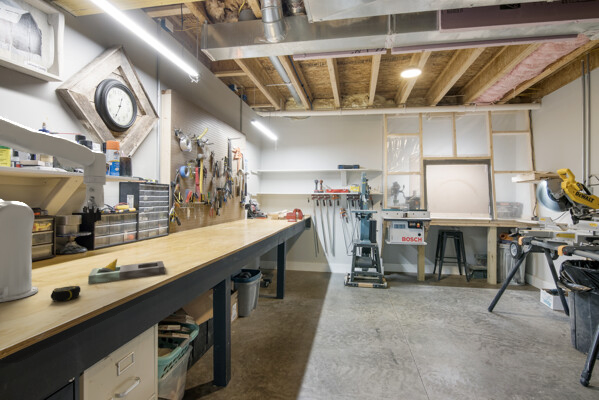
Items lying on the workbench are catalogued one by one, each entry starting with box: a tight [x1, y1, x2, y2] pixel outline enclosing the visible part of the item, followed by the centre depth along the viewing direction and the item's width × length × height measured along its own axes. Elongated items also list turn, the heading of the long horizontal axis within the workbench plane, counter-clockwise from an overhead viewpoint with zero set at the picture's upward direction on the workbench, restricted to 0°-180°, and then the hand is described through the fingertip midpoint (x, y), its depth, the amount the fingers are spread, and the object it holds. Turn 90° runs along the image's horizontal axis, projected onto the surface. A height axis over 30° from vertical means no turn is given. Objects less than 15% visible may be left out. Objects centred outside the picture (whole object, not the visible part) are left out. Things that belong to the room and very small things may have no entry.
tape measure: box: [50, 285, 81, 302], centre depth 85 cm, size 7×7×4 cm
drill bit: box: [100, 258, 118, 273], centre depth 109 cm, size 5×5×10 cm
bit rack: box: [87, 260, 166, 285], centre depth 112 cm, size 26×12×3 cm, turn 122°
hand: (94, 221), depth 111 cm, fingers open, 9 cm apart
